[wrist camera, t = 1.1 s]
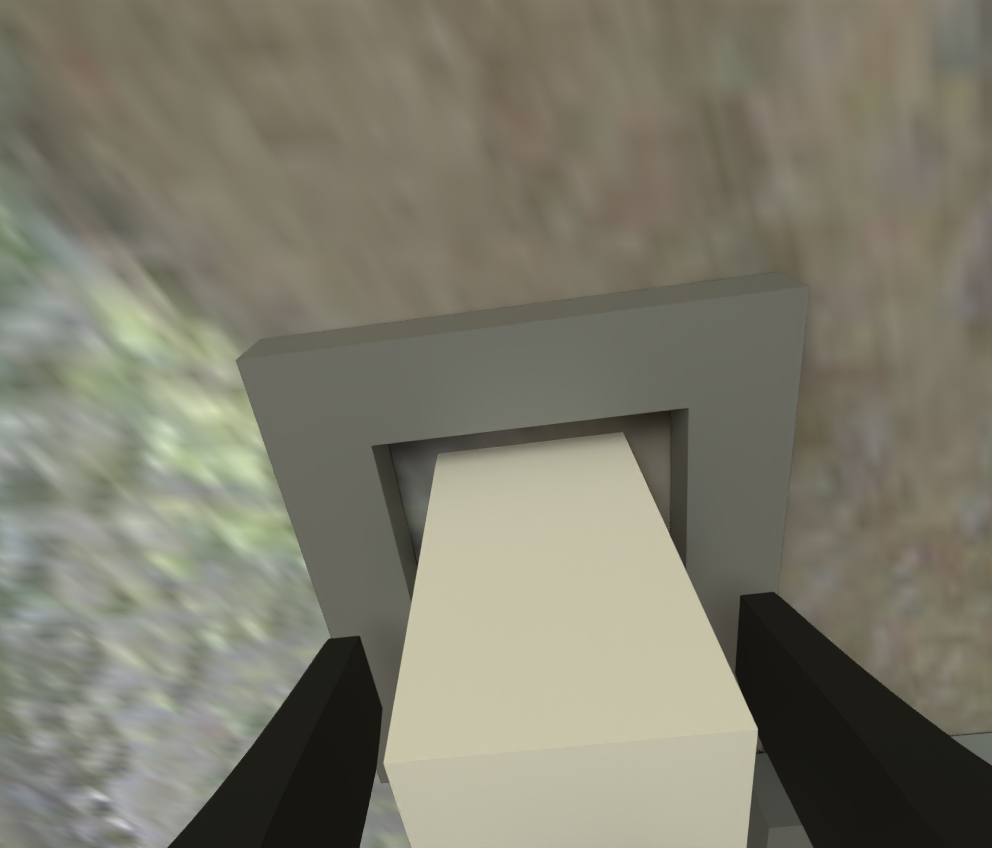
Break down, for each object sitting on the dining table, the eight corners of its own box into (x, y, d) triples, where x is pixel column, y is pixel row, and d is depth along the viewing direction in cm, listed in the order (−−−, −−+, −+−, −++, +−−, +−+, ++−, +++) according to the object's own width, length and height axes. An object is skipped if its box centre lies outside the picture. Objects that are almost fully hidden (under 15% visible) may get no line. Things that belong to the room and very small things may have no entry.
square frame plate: (778, 271, 11) (810, 286, 10) (743, 708, 16) (761, 749, 15) (259, 339, 11) (235, 360, 10) (388, 741, 17) (381, 783, 15)
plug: (623, 431, 12) (804, 831, 5) (630, 637, 15) (759, 1094, 8) (437, 453, 13) (365, 868, 5) (477, 652, 15) (464, 1112, 8)
